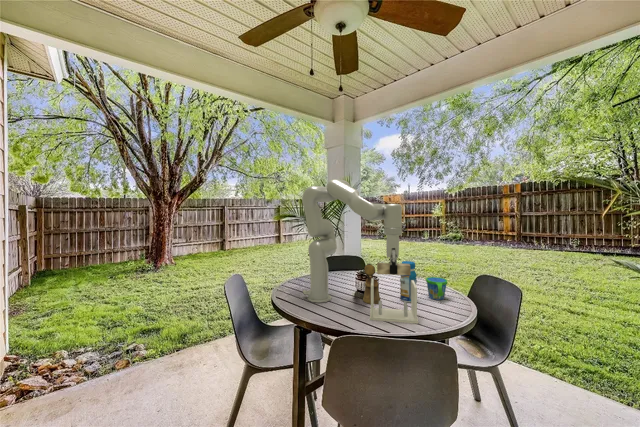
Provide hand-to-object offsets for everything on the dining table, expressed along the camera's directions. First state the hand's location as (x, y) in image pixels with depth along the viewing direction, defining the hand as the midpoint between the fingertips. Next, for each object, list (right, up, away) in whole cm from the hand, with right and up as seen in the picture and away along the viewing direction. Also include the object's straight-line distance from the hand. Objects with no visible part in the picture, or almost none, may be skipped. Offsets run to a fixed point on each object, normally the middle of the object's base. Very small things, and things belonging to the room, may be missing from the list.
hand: (393, 272), depth 125 cm
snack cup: (+30, -19, +25) cm, 43 cm away
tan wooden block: (0, -1, 0) cm, 1 cm away
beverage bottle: (+14, -20, +22) cm, 33 cm away
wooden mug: (-6, -20, +23) cm, 31 cm away
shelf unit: (0, -20, +1) cm, 20 cm away
